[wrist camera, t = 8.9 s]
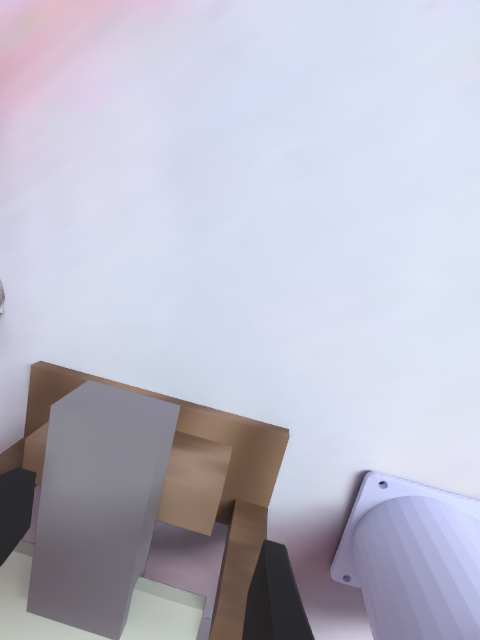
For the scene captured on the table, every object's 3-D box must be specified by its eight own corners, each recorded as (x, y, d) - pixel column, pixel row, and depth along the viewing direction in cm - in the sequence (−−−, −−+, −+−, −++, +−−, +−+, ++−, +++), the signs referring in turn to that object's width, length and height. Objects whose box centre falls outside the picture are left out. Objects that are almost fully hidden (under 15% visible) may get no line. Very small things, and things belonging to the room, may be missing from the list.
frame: (288, 429, 20) (295, 530, 13) (260, 524, 22) (251, 663, 14) (40, 360, 21) (-86, 419, 14) (30, 456, 23) (-89, 554, 15)
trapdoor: (251, 425, 15) (246, 460, 12) (173, 711, 19) (157, 783, 16) (21, 361, 15) (-29, 382, 13) (-7, 651, 20) (-49, 711, 17)
